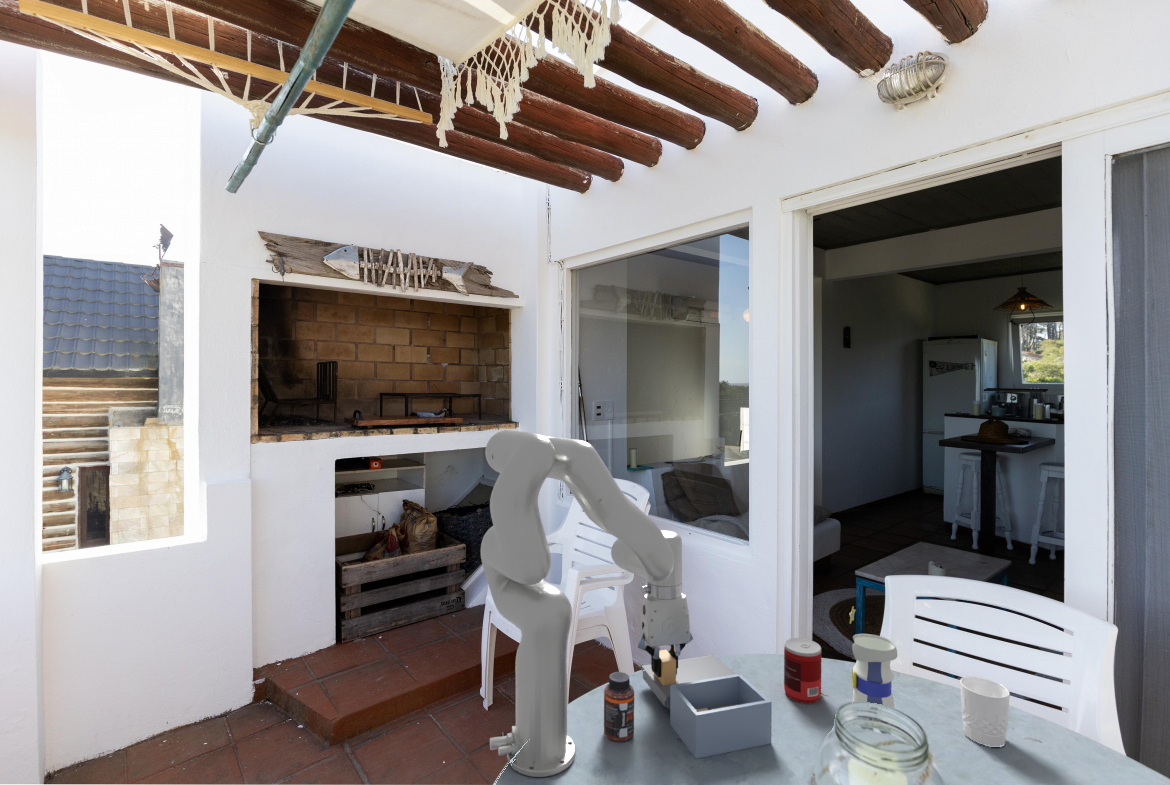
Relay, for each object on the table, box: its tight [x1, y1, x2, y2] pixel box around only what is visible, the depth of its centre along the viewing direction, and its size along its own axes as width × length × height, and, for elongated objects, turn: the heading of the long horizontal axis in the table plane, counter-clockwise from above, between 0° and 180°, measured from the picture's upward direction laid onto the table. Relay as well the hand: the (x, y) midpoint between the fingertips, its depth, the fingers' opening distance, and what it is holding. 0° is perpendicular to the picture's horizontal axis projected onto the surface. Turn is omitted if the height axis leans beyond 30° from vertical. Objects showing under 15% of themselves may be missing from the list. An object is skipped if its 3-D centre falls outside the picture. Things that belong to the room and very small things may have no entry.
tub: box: [669, 673, 773, 760], centre depth 111 cm, size 16×11×8 cm
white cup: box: [959, 675, 1011, 746], centre depth 110 cm, size 8×8×10 cm
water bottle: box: [849, 606, 898, 709], centre depth 108 cm, size 8×9×25 cm
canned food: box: [783, 637, 822, 704], centre depth 125 cm, size 8×8×11 cm
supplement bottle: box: [603, 671, 635, 742], centre depth 111 cm, size 6×6×11 cm
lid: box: [641, 649, 737, 709], centre depth 124 cm, size 18×13×8 cm
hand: (664, 672), depth 123 cm, fingers closed on lid, 3 cm apart
